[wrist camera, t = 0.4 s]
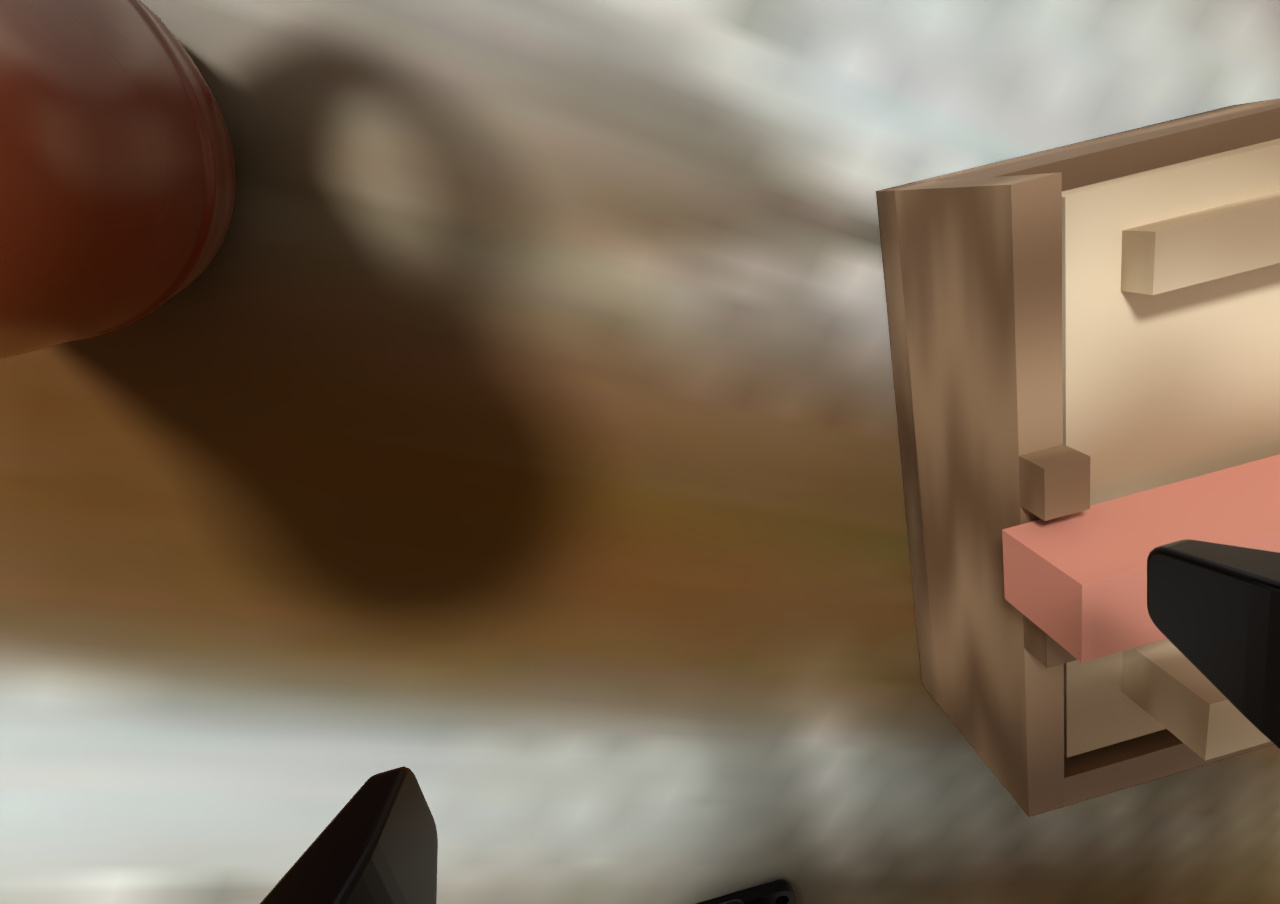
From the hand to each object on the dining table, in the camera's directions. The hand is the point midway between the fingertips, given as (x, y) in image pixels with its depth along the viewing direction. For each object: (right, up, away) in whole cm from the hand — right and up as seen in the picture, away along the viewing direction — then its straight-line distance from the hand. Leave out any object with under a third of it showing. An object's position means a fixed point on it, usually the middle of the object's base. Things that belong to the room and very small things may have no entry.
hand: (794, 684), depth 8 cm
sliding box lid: (+11, +2, +9) cm, 14 cm away
